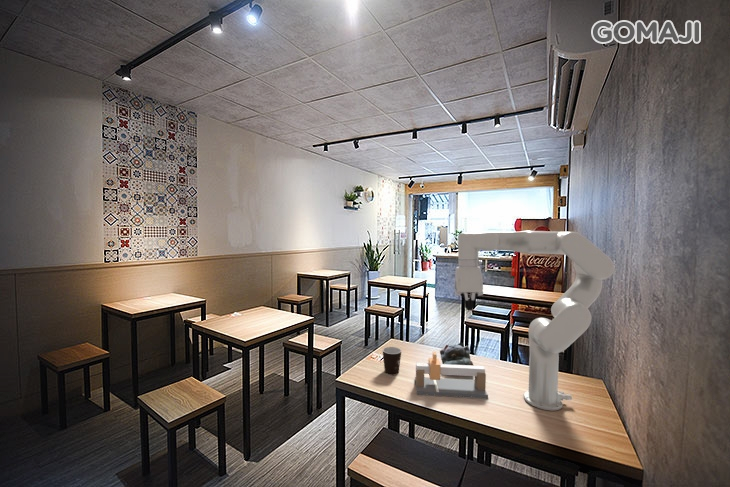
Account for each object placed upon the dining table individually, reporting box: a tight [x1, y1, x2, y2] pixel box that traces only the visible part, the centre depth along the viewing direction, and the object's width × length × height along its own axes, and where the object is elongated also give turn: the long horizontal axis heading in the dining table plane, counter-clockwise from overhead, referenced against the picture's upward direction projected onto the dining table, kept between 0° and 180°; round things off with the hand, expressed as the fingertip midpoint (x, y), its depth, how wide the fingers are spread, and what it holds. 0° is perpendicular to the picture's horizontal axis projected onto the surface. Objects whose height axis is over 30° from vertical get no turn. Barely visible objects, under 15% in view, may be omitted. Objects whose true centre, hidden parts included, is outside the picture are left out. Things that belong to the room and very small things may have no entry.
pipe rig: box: [414, 362, 489, 400], centre depth 126 cm, size 27×12×10 cm, turn 85°
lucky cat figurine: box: [439, 342, 475, 366], centre depth 143 cm, size 15×12×14 cm
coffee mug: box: [382, 346, 402, 376], centre depth 142 cm, size 12×9×10 cm
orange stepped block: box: [428, 351, 441, 380], centre depth 127 cm, size 4×6×10 cm, turn 175°
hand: (469, 309), depth 123 cm, fingers closed
